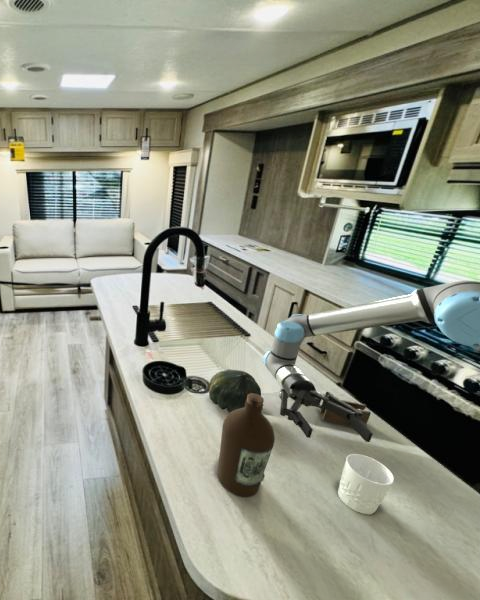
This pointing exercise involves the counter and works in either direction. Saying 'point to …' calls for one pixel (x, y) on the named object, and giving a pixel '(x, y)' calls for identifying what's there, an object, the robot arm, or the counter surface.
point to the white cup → (364, 483)
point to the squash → (232, 389)
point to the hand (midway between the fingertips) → (339, 435)
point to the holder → (337, 419)
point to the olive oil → (245, 448)
